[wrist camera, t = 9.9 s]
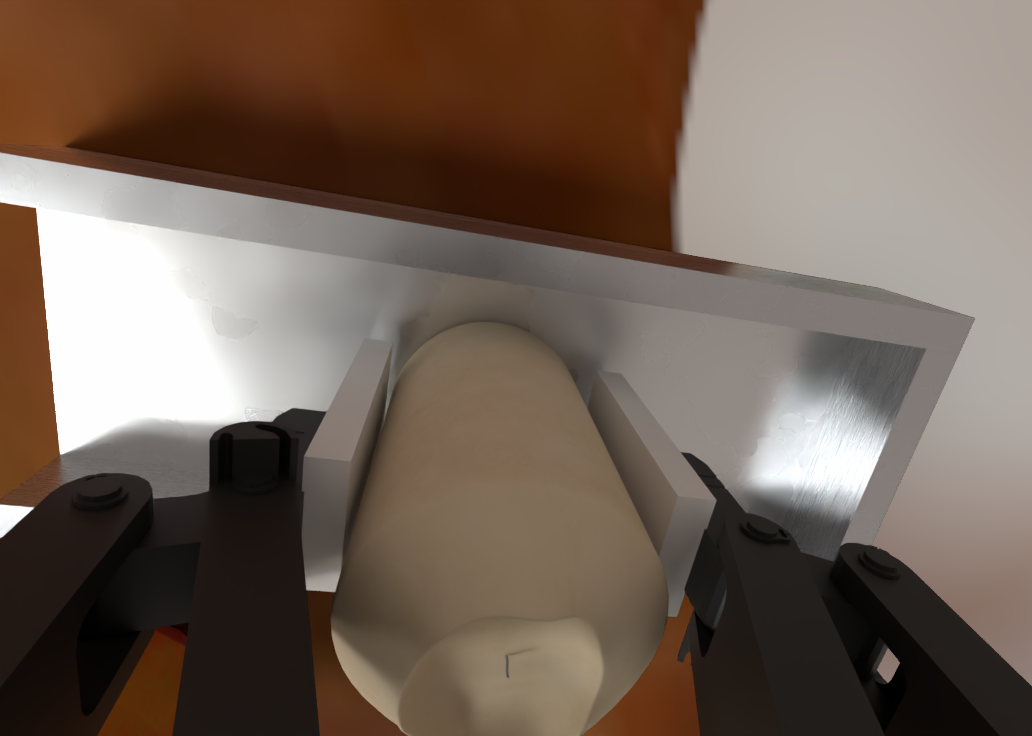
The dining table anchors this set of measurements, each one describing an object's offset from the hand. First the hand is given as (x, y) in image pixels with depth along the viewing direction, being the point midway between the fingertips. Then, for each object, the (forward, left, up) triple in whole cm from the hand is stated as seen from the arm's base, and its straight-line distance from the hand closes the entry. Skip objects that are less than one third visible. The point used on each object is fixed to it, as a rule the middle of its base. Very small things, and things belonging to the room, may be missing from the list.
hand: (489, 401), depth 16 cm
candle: (0, 0, -1) cm, 1 cm away
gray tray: (0, 0, -2) cm, 2 cm away
